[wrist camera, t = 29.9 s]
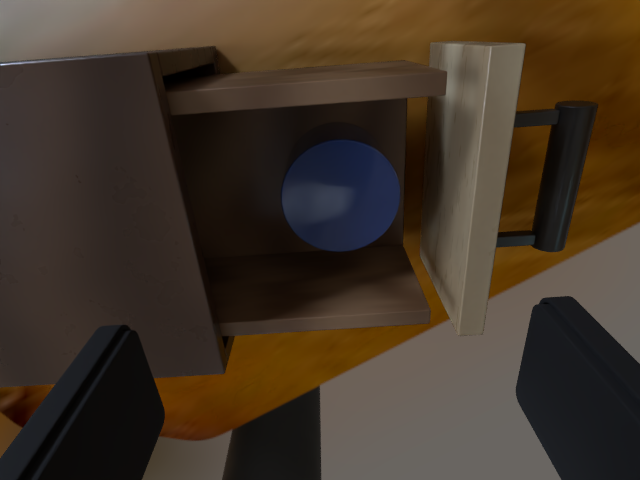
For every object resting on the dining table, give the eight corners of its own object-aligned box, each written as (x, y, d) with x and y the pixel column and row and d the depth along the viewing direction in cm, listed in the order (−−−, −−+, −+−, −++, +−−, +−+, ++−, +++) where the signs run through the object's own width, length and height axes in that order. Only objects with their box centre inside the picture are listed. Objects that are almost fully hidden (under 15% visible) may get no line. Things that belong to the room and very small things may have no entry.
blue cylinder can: (386, 216, 23) (399, 248, 20) (291, 222, 23) (286, 256, 20) (387, 117, 21) (402, 134, 17) (280, 125, 21) (273, 143, 17)
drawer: (553, 33, 20) (679, 31, 13) (515, 249, 26) (590, 328, 19) (150, 64, 21) (67, 78, 14) (200, 270, 26) (158, 355, 19)
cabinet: (215, 45, 21) (148, 52, 12) (253, 267, 27) (225, 374, 19) (-94, 69, 21) (-367, 91, 13) (12, 283, 28) (-124, 395, 19)
